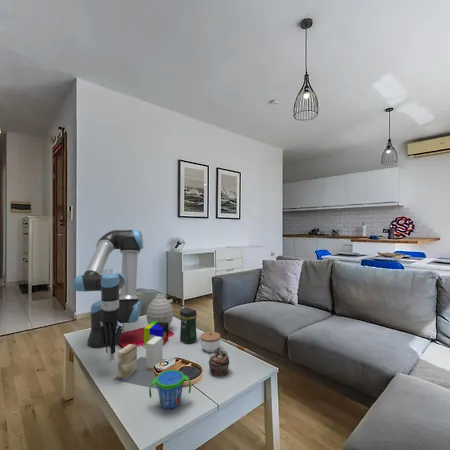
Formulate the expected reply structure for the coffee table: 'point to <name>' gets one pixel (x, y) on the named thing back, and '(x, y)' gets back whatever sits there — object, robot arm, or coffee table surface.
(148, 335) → the puzzle toy
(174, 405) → the snack cup
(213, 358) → the cupcake
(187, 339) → the coffee jar
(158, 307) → the vase
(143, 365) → the mat
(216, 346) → the lidded jar
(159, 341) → the cream slab
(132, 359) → the oak slab
